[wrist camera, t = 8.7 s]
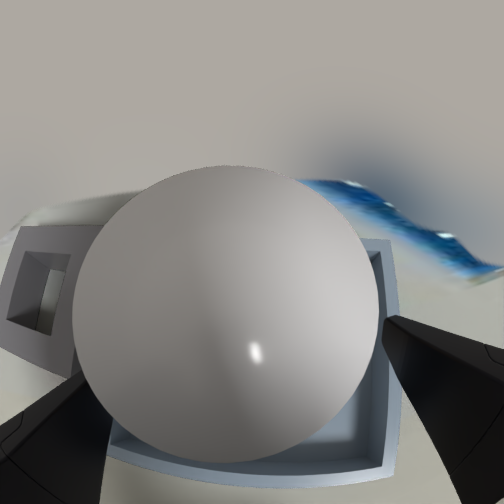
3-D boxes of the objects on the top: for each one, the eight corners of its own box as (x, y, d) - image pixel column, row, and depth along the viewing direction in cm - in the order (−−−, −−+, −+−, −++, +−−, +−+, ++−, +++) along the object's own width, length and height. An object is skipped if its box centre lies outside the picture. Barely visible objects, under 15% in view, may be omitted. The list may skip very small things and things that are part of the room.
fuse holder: (126, 249, 19) (105, 225, 16) (101, 383, 15) (70, 379, 12) (42, 245, 20) (20, 226, 17) (16, 349, 15) (-12, 340, 12)
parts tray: (374, 260, 18) (390, 240, 15) (373, 463, 12) (393, 475, 9) (149, 251, 19) (133, 229, 16) (122, 444, 13) (98, 451, 10)
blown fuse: (302, 348, 15) (414, 239, 4) (265, 409, 14) (270, 516, 2) (240, 314, 16) (185, 139, 5) (203, 372, 15) (34, 328, 3)
